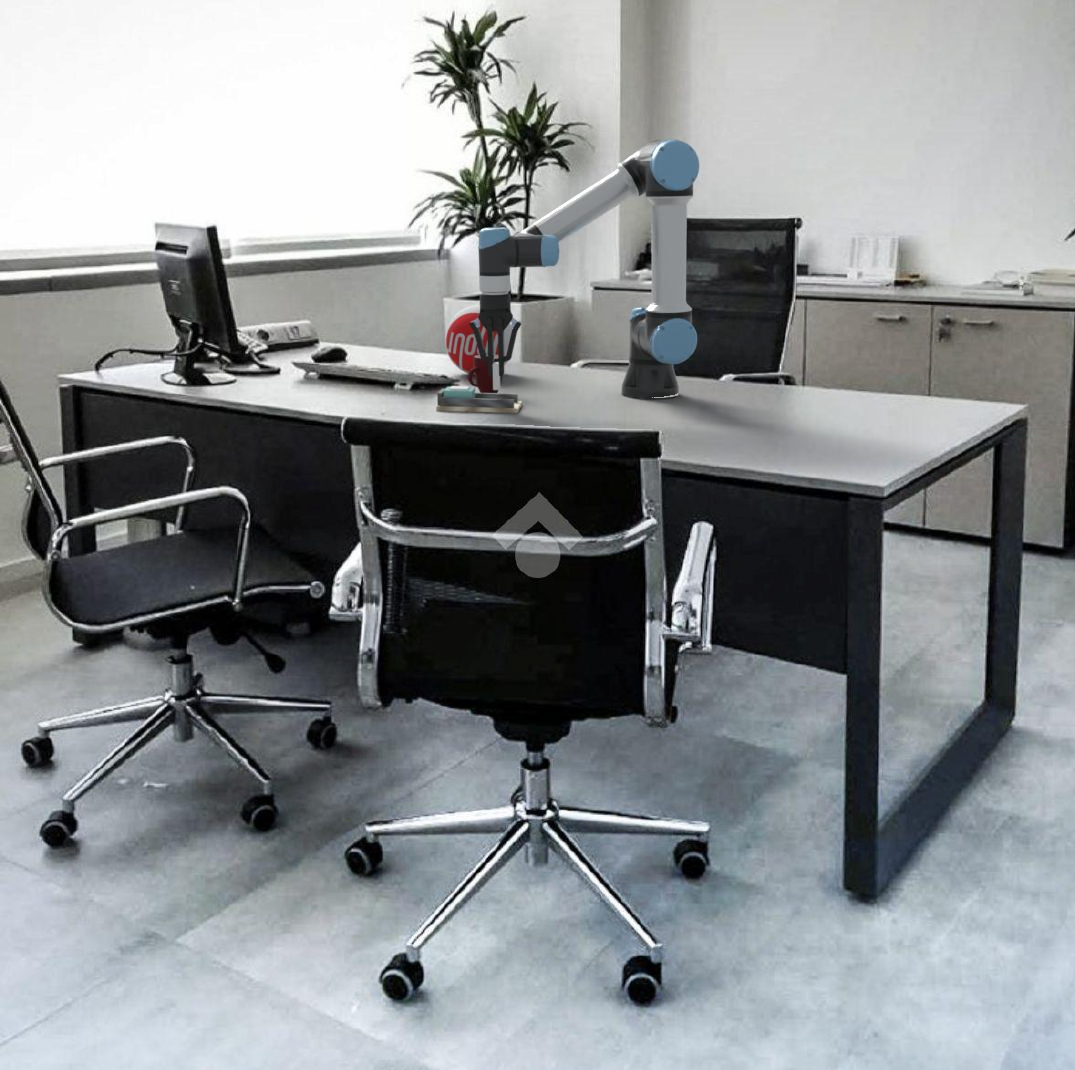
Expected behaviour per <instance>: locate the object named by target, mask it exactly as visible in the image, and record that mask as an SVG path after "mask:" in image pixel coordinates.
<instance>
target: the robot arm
mask: <svg viewBox="0 0 1075 1070" xmlns="http://www.w3.org/2000/svg"><path fill="white" fill-rule="evenodd" d="M699 171H700V159H699V157H698V154H697V152H696V150H695V149H694V148H693V147H692V146H691V145H690V144H688V143H687V142H685V141H683V140H679V139H673V138H671V139H670V138H669V139H659V140H652V141H649V142H648V143H646V144H644V145H643V146H642V147H640V148H639V149H637V150H636V151H635V152H634V153H632V154H630V156H628V157H627V158H625V159H624V160H623V161H621V162H619V163H618V164H617V165H616V168H615V171H613V172H611V173H609V174H608V175H606V176H605V177H604V178H602V179H601V180H599V181H598V182H595V183H594V184H592V185H591V186H589V187H588V188H586V189H585V190H583V191H581V192H580V193H579V194H576V195H575V196H574V197H572V198H571V199H569V200H568V201H566V202H565V203H563V204H561V205H560V206H559V207H557V208H556V209H554V210H552V211H551V212H549V213H548V214H546V215H544V216H543V217H542V218H540V219H538V220H537V221H535V222H534V223H533V224H531V225H529V226H528V227H526V228H524V229H523V230H520V231H516V232H514V233H513V234H511V233H510V229H509V228H508V227H484V228H482V229H480V230H479V233H478V247H477V249H478V270H479V271H478V273H479V276H478V278H479V279H478V284H479V286H478V288H479V292H480V295H479V305H480V313H479V315H478V318H477V319H476V320H474V321H472V322H470V324H469V325H470V327H471V328H472V330H473V331H474V335H475V339H476V342H477V346H478V350H479V354H480V358H481V360H482V361H486V362H488V371H489V376H493V390H499V391H500V390H501V386H500V376H503V377H504V375H505V365H504V363H505V362H506V361H508V362H509V361H510V360H511V359H512V358H513V353H514V348H515V344H516V338H517V335H518V331H519V329H520V328H521V326H522V323H523V322H522V321H521V320H518V319H516V318H514V315H513V313H512V311H511V309H512V308H511V303H512V302H511V294H510V293H509V292H510V291H511V268H546V267H548V268H549V267H555V266H556V265H558V263H559V259H560V243H561V242H562V241H564V240H566V239H567V238H569V237H570V236H572V235H574V234H575V233H577V232H579V231H580V230H581V229H583V228H585V227H586V226H588V225H589V224H591V223H593V222H594V221H596V220H597V219H599V218H600V217H602V216H603V215H605V214H607V213H608V212H610V211H611V210H613V209H614V208H616V207H618V206H619V205H621V204H622V203H623V202H626V201H627V200H628V199H630V198H634V199H635V198H636V199H637V198H639V197H641V196H642V195H644V194H645V199H646V200H647V201H649V203H650V204H651V302H650V303H649V304H648V306H645V307H634V308H633V309H632V310H631V312H630V318H629V323H630V324H629V325H630V326H629V327H630V328H629V350H628V351H629V354H628V355H629V357H628V361H629V362H628V367H627V370H626V373H625V375H624V378H623V380H622V384H621V394H622V395H623V396H625V397H630V398H634V397H638V398H637V399H645V398H652V397H653V398H654V397H664V396H670V395H675V394H677V393H679V390H680V387H679V383H678V380H677V376H676V373H675V368H674V365H678V364H682V363H683V362H685V361H686V360H689V358H690V357H691V356H692V355H693V354H694V352H695V350H696V348H697V345H698V334H697V331H696V329H695V327H694V325H693V308H692V307H691V306H690V305H689V304H688V303H687V233H688V232H687V228H688V225H687V224H688V223H687V221H688V219H687V218H688V217H687V212H688V210H687V207H688V203H689V202H690V201H691V199H693V197H694V183H695V181H696V179H697V178H698V175H699ZM480 322H481V323H482V325H483V326H484V328H485V329H486V330H487V336H488V356H487V355H486V352H485V348H484V344H483V340H482V336H481V333H480V329H479V327H480ZM509 323H510V324H511V327H512V332H511V337H510V341H509V346H508V350H507V354H506V356H504V330H505V329H506V327H507V326H508V325H509ZM494 331H498V360H499V361H498V362H494ZM679 394H680V393H679Z"/></svg>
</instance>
